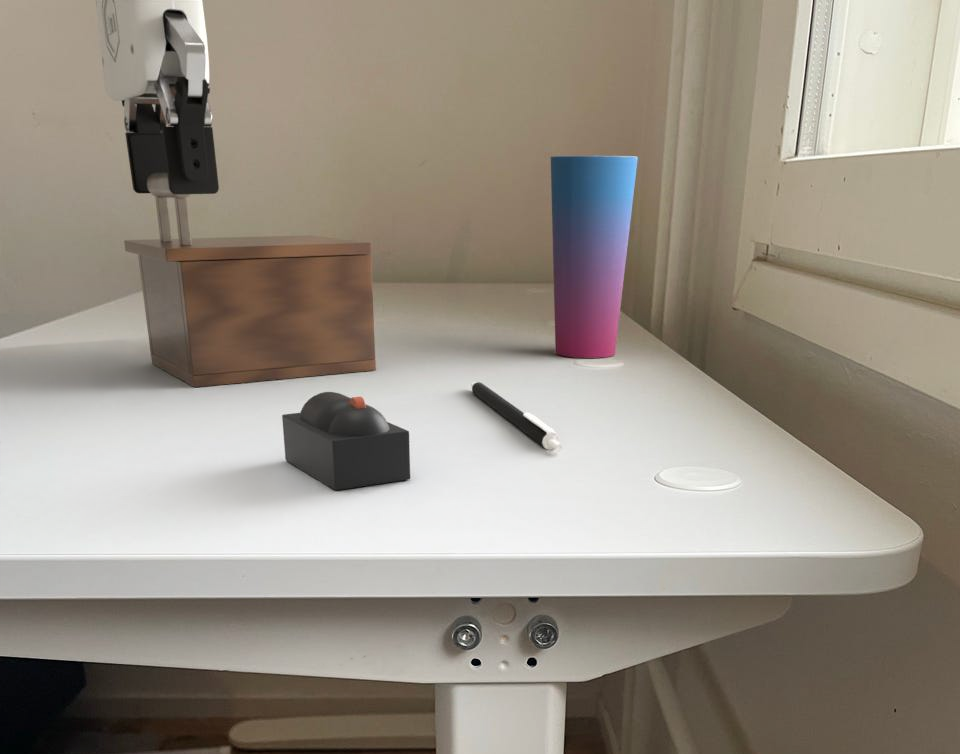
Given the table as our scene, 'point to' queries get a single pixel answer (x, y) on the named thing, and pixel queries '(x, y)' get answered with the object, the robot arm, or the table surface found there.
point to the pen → (518, 417)
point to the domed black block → (345, 443)
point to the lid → (230, 246)
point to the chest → (259, 317)
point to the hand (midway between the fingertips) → (174, 193)
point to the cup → (590, 250)
